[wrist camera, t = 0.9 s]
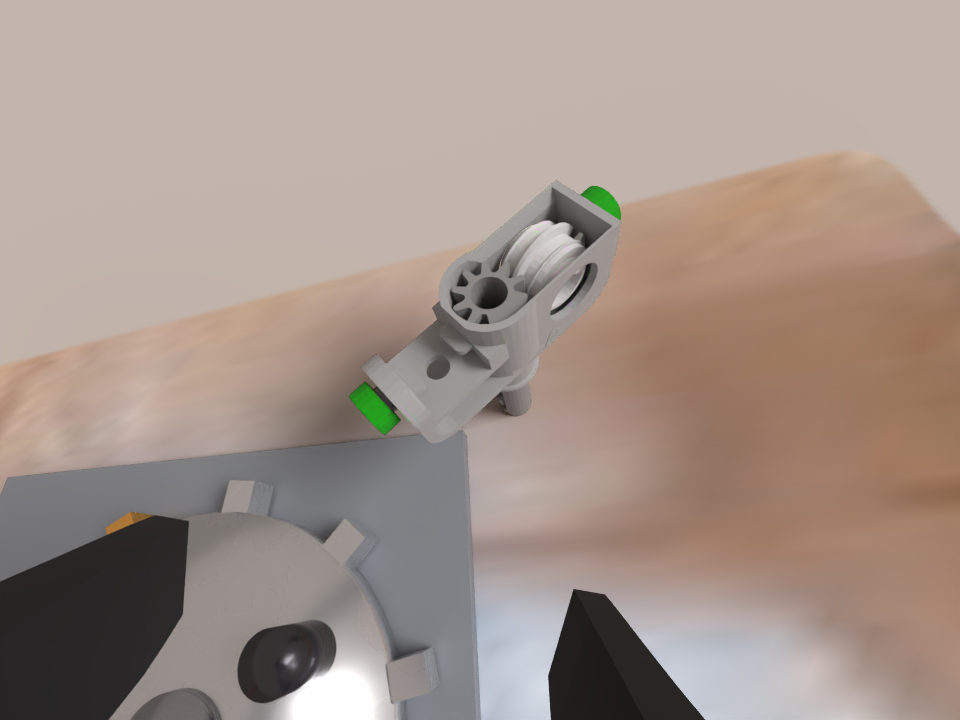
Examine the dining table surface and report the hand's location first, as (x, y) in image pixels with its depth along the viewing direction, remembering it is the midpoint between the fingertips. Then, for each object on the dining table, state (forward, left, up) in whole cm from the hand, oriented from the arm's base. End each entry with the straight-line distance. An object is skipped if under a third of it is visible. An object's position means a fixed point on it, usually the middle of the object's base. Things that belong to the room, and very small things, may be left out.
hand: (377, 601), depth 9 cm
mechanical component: (+8, -2, -12) cm, 15 cm away
